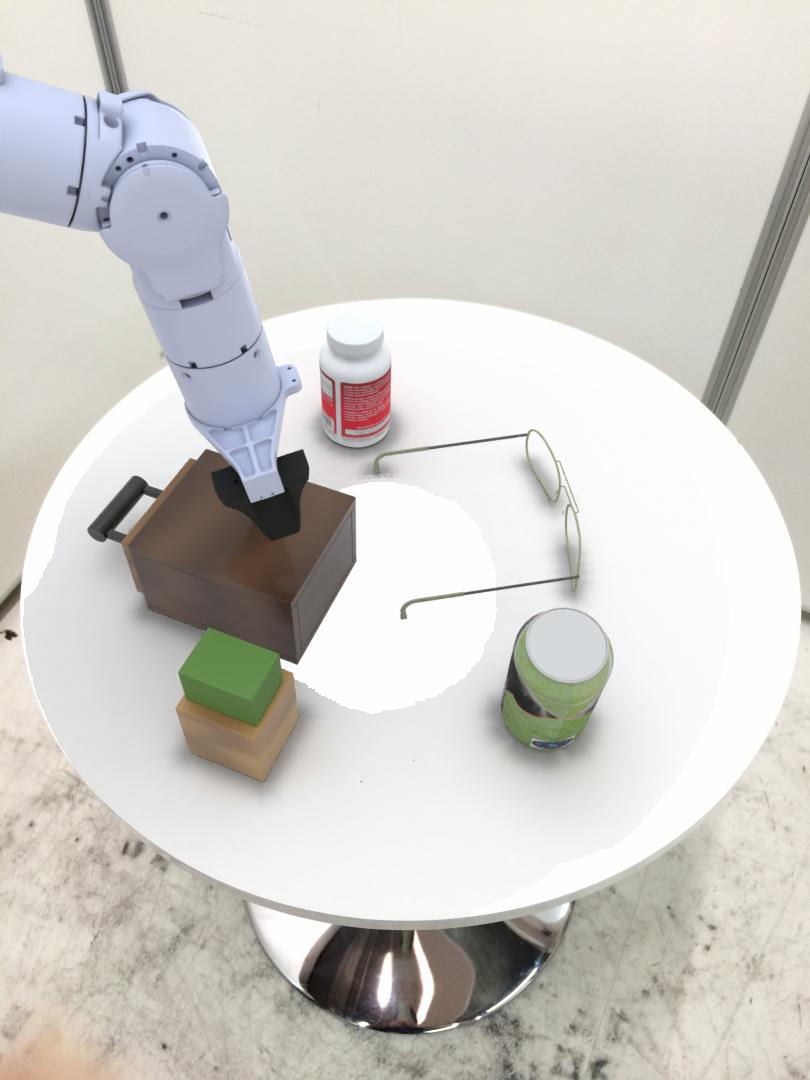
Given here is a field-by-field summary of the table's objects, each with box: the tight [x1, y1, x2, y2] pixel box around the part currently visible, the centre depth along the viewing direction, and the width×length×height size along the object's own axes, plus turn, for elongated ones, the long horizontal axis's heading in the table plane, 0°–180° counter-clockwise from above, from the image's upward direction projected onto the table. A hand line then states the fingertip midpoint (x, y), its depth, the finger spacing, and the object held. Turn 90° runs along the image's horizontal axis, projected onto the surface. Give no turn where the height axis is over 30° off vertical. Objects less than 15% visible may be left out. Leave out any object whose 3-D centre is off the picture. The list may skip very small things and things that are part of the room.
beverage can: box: [500, 606, 615, 751], centre depth 56 cm, size 6×7×12 cm
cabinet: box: [128, 448, 357, 666], centre depth 65 cm, size 13×11×8 cm
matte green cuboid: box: [177, 628, 283, 727], centre depth 54 cm, size 5×4×3 cm
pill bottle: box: [318, 310, 392, 448], centre depth 76 cm, size 6×6×11 cm
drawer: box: [86, 457, 197, 594], centre depth 66 cm, size 16×9×6 cm, turn 68°
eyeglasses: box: [373, 428, 582, 621], centre depth 70 cm, size 16×15×5 cm
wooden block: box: [175, 667, 299, 783], centre depth 57 cm, size 6×5×6 cm
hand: (271, 491), depth 59 cm, fingers open, 7 cm apart
